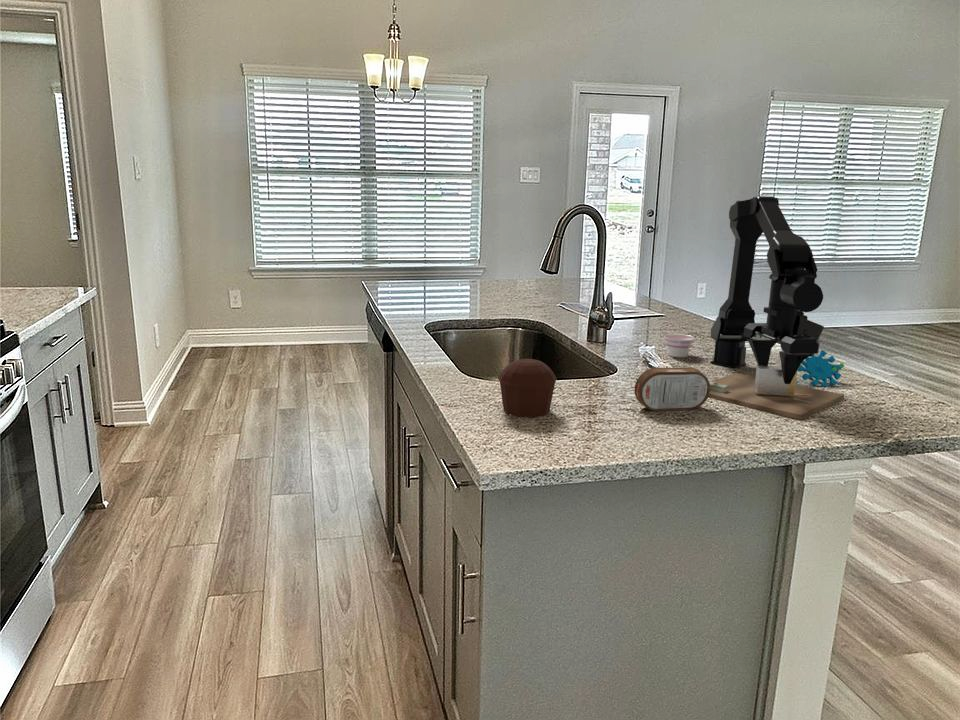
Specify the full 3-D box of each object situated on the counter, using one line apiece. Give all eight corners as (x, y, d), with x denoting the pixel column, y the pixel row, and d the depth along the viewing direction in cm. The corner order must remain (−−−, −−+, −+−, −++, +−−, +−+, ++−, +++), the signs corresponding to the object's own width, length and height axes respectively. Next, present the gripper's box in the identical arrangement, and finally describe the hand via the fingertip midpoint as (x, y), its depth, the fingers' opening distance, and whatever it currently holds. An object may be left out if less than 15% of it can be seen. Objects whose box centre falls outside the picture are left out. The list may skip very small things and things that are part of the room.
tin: (702, 406, 141) (706, 365, 140) (710, 410, 138) (714, 369, 136) (632, 408, 139) (635, 367, 137) (638, 413, 136) (641, 371, 134)
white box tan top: (756, 394, 146) (759, 368, 145) (753, 390, 149) (756, 364, 148) (793, 396, 145) (797, 370, 143) (790, 392, 148) (793, 366, 146)
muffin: (521, 398, 144) (522, 351, 142) (566, 409, 137) (569, 360, 135) (485, 411, 135) (485, 361, 133) (531, 424, 128) (533, 371, 126)
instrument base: (687, 393, 150) (688, 381, 150) (736, 376, 165) (738, 365, 164) (800, 420, 133) (801, 406, 133) (843, 399, 148) (845, 386, 147)
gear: (806, 385, 155) (793, 346, 160) (793, 397, 160) (782, 359, 165) (853, 385, 156) (839, 346, 161) (839, 397, 161) (826, 359, 166)
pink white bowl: (703, 366, 175) (705, 342, 174) (654, 364, 177) (656, 340, 176) (697, 356, 187) (699, 333, 185) (651, 353, 189) (653, 331, 187)
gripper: (849, 311, 135) (838, 389, 138) (793, 297, 152) (785, 366, 156) (796, 311, 133) (786, 390, 137) (746, 297, 151) (738, 367, 155)
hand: (774, 378), depth 146 cm, fingers open, 9 cm apart
